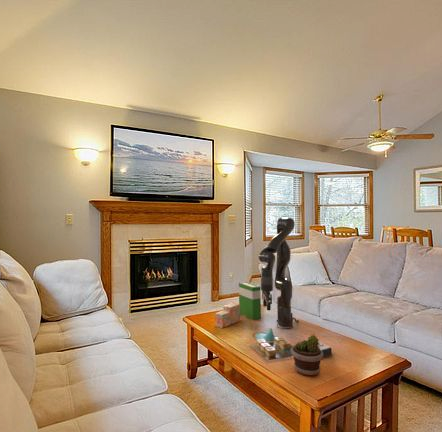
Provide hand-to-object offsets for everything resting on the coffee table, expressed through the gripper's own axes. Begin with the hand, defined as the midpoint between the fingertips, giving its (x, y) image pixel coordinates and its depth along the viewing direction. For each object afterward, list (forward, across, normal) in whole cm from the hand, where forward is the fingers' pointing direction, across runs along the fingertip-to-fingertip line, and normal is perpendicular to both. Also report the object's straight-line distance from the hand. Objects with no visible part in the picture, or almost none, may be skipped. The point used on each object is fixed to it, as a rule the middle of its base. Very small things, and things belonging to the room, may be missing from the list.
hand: (266, 308), depth 194 cm
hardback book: (+17, +39, +2) cm, 43 cm away
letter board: (+18, -23, +1) cm, 29 cm away
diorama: (+18, -5, +2) cm, 19 cm away
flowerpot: (+18, -46, -7) cm, 50 cm away
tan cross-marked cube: (+17, -28, +6) cm, 33 cm away
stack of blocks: (+18, +24, +21) cm, 37 cm away
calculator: (+17, -25, -20) cm, 36 cm away
